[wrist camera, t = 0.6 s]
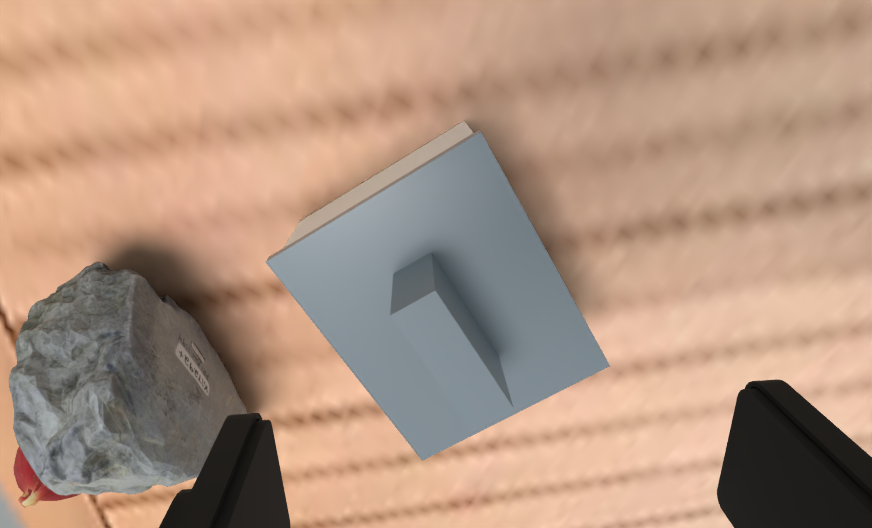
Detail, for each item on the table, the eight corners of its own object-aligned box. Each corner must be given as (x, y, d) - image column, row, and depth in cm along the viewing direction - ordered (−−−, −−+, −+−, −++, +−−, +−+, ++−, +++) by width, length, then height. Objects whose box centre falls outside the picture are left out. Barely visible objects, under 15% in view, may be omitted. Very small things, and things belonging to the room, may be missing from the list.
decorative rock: (86, 254, 37) (-111, 380, 23) (173, 224, 36) (28, 334, 22) (198, 433, 43) (97, 618, 29) (274, 409, 42) (209, 586, 28)
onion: (64, 380, 40) (-13, 455, 33) (141, 406, 42) (83, 484, 34) (48, 436, 42) (-28, 519, 35) (122, 459, 43) (63, 544, 36)
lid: (600, 350, 35) (642, 418, 28) (421, 441, 37) (424, 523, 30) (476, 126, 29) (495, 149, 22) (273, 250, 31) (238, 302, 25)
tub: (568, 307, 40) (599, 357, 34) (421, 385, 42) (423, 447, 36) (464, 120, 34) (476, 137, 28) (300, 220, 36) (276, 258, 30)
